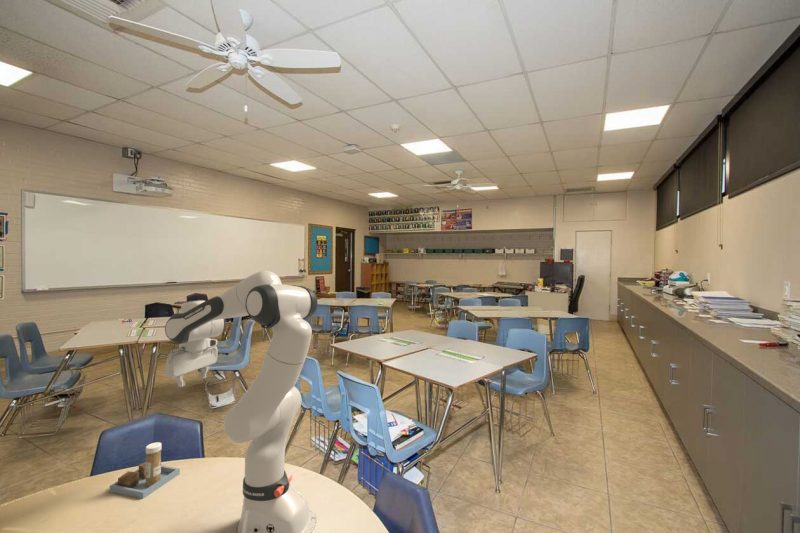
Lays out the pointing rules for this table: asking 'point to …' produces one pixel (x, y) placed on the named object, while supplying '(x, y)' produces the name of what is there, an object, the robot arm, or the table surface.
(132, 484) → the walnut block
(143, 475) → the walnut block
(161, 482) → the tray
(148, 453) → the sprinkles bottle
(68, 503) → the table surface
